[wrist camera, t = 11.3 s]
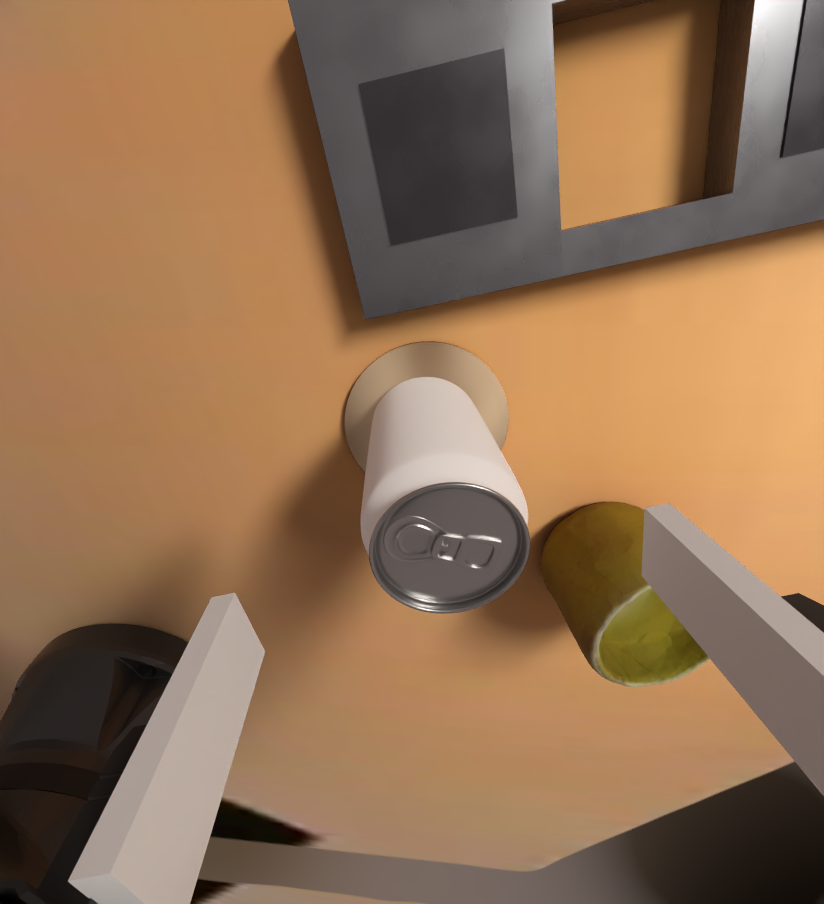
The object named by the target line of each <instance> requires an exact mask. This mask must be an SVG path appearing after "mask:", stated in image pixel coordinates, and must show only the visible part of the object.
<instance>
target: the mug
mask: <svg viewBox="0 0 824 904" xmlns="http://www.w3.org/2000/svg"><path fill="white" fill-rule="evenodd" d="M644 511H645V510H643V509H641V508H639V507H636V506H633V505H629V504H626V503H620V502H602V503H595V504H591V505H588V506H585V507H582V508H580V509H578V510H577V511H576V512H574V513H573V514H572V515H570V516H568V517H567V518H565V519H564V520H563V521H561V522H560V523H559V524H558V525H556V526H555V528H554V529H553V530H552V532H551V533H550V535H549V537H548V539H547V541H546V542H545V544H544V547H543V550H542V560H541V572H542V575H543V579H544V582H545V584H546V586H547V588H548V590H549V592H550V593H551V594H552V596H553V597H554V599H555V601H556V602H557V604H558V606H559V608H560V610H561V612H562V614H563V616H564V618H565V620H566V622H567V624H568V626H569V628H570V630H571V632H572V634H573V636H574V638H575V639H576V641H577V643H578V645H579V647H580V649H581V651H582V653H583V654H584V656H585V658H586V659H587V661H588V663H589V664H590V666H591V667H592V668H593V669H594V670H595V671H596V672H597V673H598V674H599V675H601V676H602V677H604V678H605V679H607V680H609V681H611V682H614V683H618V684H621V685H624V686H629V687H641V686H649V685H655V684H663V683H667V682H671V681H673V680H676V679H679V678H681V677H683V676H685V675H687V674H689V673H690V672H692V671H694V670H695V669H697V668H699V667H700V666H701V665H702V664H703V663H705V662H707V661H708V660H709V659H710V658H709V657H708V655H707V654H706V653H705V652H704V651H703V649H702V648H701V647H700V646H699V645H698V643H697V642H696V641H695V640H694V638H693V637H692V636H691V635H690V634H689V632H688V631H687V630H686V629H685V628H684V626H683V625H682V624H681V623H680V622H679V620H678V619H677V618H676V617H675V615H674V614H673V613H672V612H671V611H670V609H669V608H668V607H667V606H666V605H665V603H664V602H663V601H662V600H661V599H660V597H659V596H658V595H657V594H656V593H655V591H654V590H653V589H652V588H651V586H650V585H649V584H648V583H647V582H646V580H645V579H644V578H643V577H642V576H641V575H642V553H643V532H644Z"/></svg>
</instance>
